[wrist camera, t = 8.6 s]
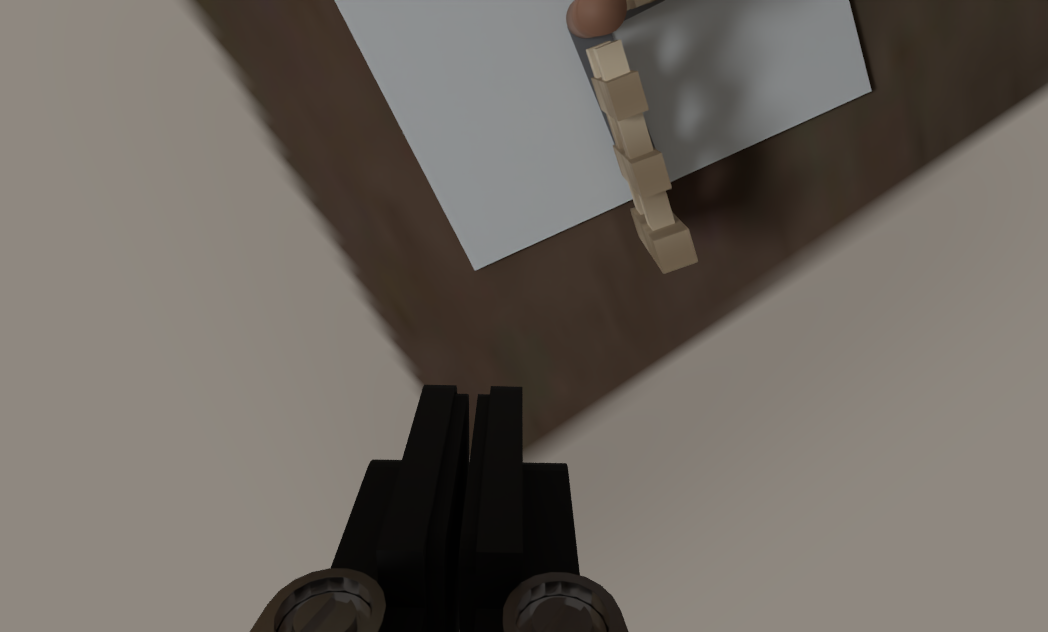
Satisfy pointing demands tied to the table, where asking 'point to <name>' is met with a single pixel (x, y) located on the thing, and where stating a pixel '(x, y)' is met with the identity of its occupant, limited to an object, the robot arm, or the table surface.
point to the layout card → (590, 97)
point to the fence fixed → (637, 3)
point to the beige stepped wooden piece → (632, 134)
